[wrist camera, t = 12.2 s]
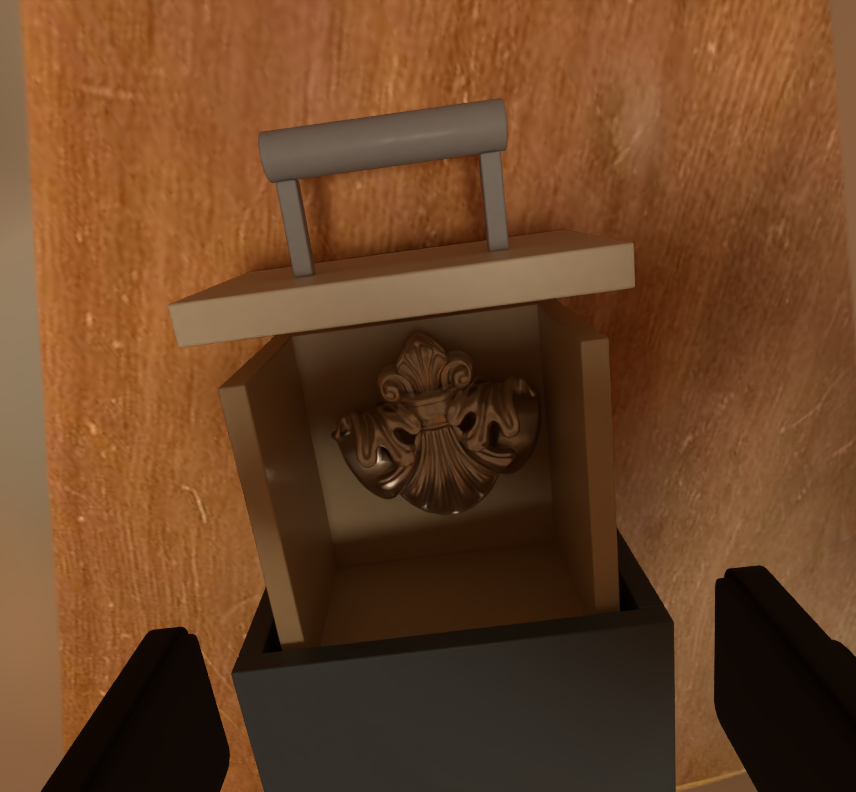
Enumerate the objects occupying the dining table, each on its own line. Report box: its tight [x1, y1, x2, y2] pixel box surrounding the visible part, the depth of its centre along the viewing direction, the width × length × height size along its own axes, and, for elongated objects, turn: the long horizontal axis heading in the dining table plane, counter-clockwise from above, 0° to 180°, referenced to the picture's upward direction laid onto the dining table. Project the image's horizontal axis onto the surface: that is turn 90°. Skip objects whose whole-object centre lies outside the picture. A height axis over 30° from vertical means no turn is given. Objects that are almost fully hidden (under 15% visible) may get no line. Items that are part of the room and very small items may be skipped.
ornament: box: [331, 332, 541, 515], centre depth 22 cm, size 8×7×4 cm
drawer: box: [168, 98, 635, 651], centre depth 21 cm, size 18×12×8 cm
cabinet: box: [231, 527, 676, 792], centre depth 25 cm, size 15×14×10 cm
